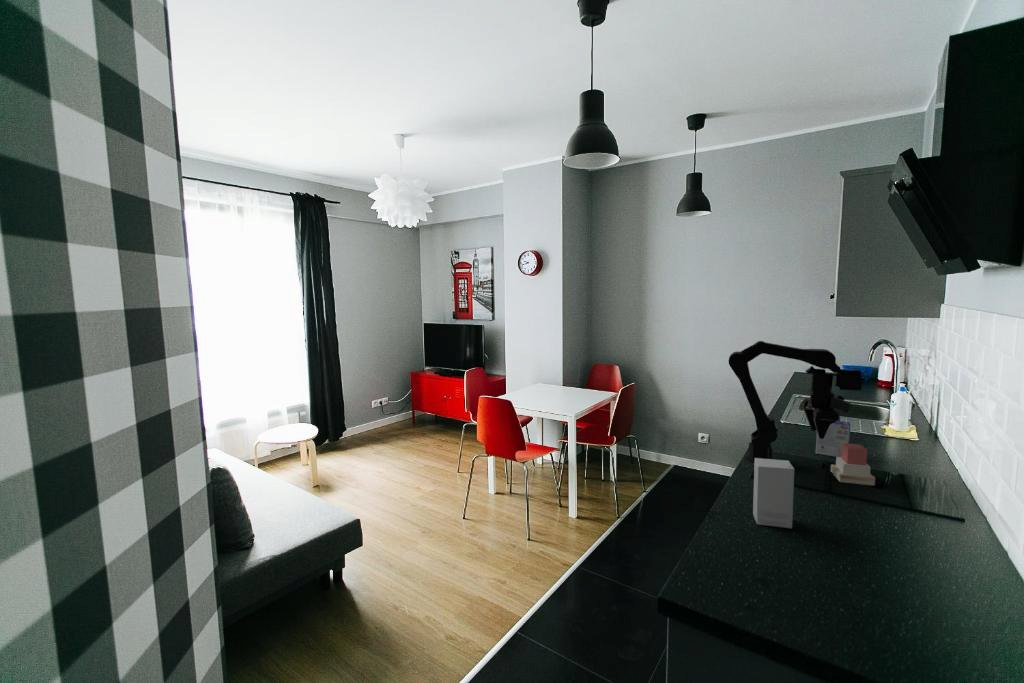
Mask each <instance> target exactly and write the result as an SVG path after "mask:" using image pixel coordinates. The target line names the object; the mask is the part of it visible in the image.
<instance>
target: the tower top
mask: <svg viewBox="0 0 1024 683" xmlns="http://www.w3.org/2000/svg"><path fill="white" fill-rule="evenodd" d="M835 458H836V459H835V465H836V467H837V468H838V469H839V470H840V471H841V472H842V473H843V474H852V475H862V476H870V474H871V468H872V467H871V466H870V465H869V464H868V463H867V462H866V465H856V464H847V463H846V462H845V461H844V460H843V459H841V457H835Z"/></svg>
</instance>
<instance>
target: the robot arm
mask: <svg viewBox="0 0 1024 683" xmlns="http://www.w3.org/2000/svg"><path fill="white" fill-rule="evenodd" d="M762 354H764V355H769V356H775V357H780V358H786V359H790V360H795V361H796V360H797V361H801V362H804V363H805V364H806V363H807V364H809V365H810V367H809V368H807V369H806V370H805V373H806V374H807V375H808V374H809V375H811V383H810V384H811V385H810V388H809V389H808V392H809V393H810V396H809V398H805V397H804V399H802V401H801V407H802V409H803V411H804V414H805V416H806V418H807V422H808V424H809V427H810V430H811V431H813V432H816V433H817V432H818V435H819V438H820V439H824V437H825V434H826V432H827V430H828V428H829V426H830V424H832V423H834V422H837V421H839V415H840V413H838V412H837V411H836V410H835V409H837V410H839V411H842V412H844V413H845V414H849V412H850V410H851V409H852V407H853V404H852V403H850V402H849V401H847V400H845V397H844V396H842V395H840V394H836V395H835V393H834V392H832V391H833V384H834V387H837V389H838V390H840V391H851V392H861V390H862V388H863V381H862V370H861V369H846V368H841V367H840V366H839V365H838V364H837V363H836V360H837V357H836V356H835V354H834V353H833V352H831V351H830V350H828V349H825V348H799V347H792V346H788V345H787V346H786V345H783V344H782V345H781V344H777V343H771V342H765V341H763V340H759V341H756V342H755V343H754V344H752V345H750V346H748V347H746V348H744V349H743V350H740V351H734V352H732V353H731V354H730V356H729V357H728V365H729V367H730V368H731V370H732V372H733V373H734V374H735V376H736V377H737V379H738V381H739V382H740V385H741V387H742V389H743V393H745V396H746V399H747V401H748V404H749V406H750V409H751V411H752V413H753V416H754V419H755V425H756V430H754V431H753V432H752V433H750V441H749V442H748V454H747V456H745V459H746V460H748V461H750V462H751V463H753V464H754V462H755V458H761V459H773V448H772V447H773V446H772V443H774V442H775V441H777V439H778V432H779V427H778V425H777V424H776V423H775V419H774V415H771V416H769V415H768V414H767V412H766V410H765V408H764V406H763V403H762V401H761V398H760V395H759V393H758V391H757V389H756V386H755V384H754V381H753V379H752V377H751V373H750V368H749V367H750V366H749V362H751V361H753V360H755V359H756V358H757V357H759V356H760V355H762ZM815 367H818V368H815ZM826 369H828V370H829V371H830V372H828V371H826Z"/></svg>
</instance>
